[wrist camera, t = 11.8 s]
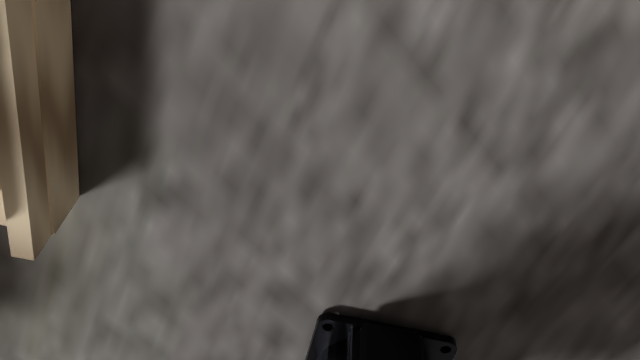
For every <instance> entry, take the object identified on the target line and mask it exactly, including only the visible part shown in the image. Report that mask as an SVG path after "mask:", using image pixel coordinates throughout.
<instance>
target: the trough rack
mask: <svg viewBox="0 0 640 360" xmlns="http://www.w3.org/2000/svg"><path fill="white" fill-rule="evenodd" d="M78 198H79V175H78V153H77V131H76V110H75V88H74V66H73V45H72V23H71V1H70V0H0V225H4V226H7V231H8V238H9V245H10V252H11V256H12V257H17V258H23V259H28V260H33V261H34V260H35V258H36V257H37V255H38V254H39V252H40V251H41V249H42V248H43V246H44V245H45V243H46V242H47V240H48V239H49V237H50V236H51V235H54V234H55V233H56V231H57V230H58V228H59V227H60V225H61V224H62V222H63V221H64V219H65V218H66V216H67V215H68V213H69V212H70V210H71V209H72V207H73V206H74V204H75V203H76V201H77V200H78Z"/></svg>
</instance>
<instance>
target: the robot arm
mask: <svg viewBox="0 0 640 360" xmlns="http://www.w3.org/2000/svg"><path fill="white" fill-rule="evenodd" d="M456 350H457V347H456V341H455V339H454V338H453V337H450V336H447V335H442V334H436V333H431V332H426V331H421V330H415V329H410V328H405V327H400V326H395V325H389V324H384V323H379V322H374V321H369V320H363V319H358V318H353V317H348V316H342V315H337V314H332V313H324V314H321V315H320V316H319V317H318V319H317V322H316V326H315V329H314V332H313V336H312V339H311V342H310V346H309V349H308V352H307V356H306V359H305V360H452V359H453V357H454V355H455V353H456Z"/></svg>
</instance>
